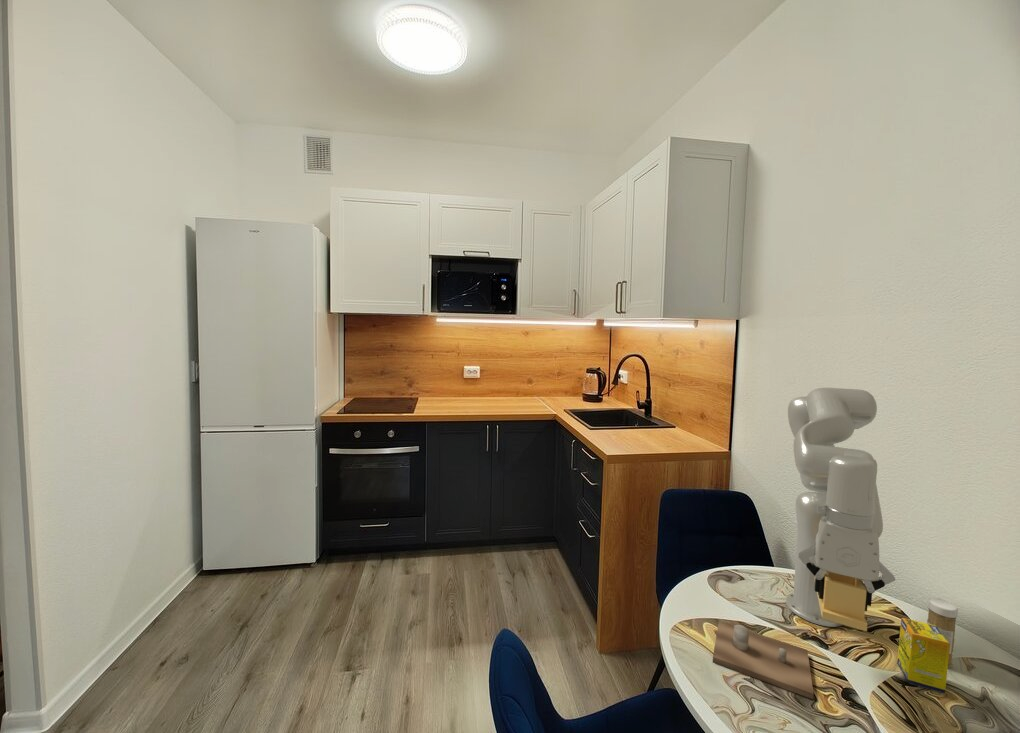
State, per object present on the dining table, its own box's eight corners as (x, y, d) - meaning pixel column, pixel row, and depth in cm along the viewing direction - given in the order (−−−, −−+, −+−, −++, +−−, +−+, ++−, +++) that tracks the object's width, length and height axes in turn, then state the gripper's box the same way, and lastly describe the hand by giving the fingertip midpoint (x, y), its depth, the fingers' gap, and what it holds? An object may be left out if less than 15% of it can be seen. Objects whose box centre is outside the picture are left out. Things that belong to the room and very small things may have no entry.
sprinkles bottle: (954, 663, 94) (960, 605, 93) (949, 671, 91) (955, 612, 90) (926, 650, 98) (931, 594, 97) (920, 658, 95) (925, 601, 94)
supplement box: (896, 663, 93) (900, 616, 93) (932, 673, 91) (936, 625, 90) (907, 683, 88) (911, 633, 87) (946, 694, 85) (951, 643, 85)
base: (718, 625, 105) (719, 605, 104) (806, 654, 95) (808, 632, 95) (712, 661, 93) (713, 639, 92) (813, 699, 83) (814, 674, 83)
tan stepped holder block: (866, 631, 82) (870, 594, 81) (822, 618, 85) (824, 583, 85) (852, 590, 95) (855, 558, 95) (814, 580, 99) (816, 549, 98)
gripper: (798, 514, 87) (792, 596, 89) (910, 536, 78) (902, 627, 80) (795, 502, 94) (790, 579, 95) (899, 521, 85) (891, 606, 86)
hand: (841, 600), depth 87 cm, fingers closed on tan stepped holder block, 6 cm apart
